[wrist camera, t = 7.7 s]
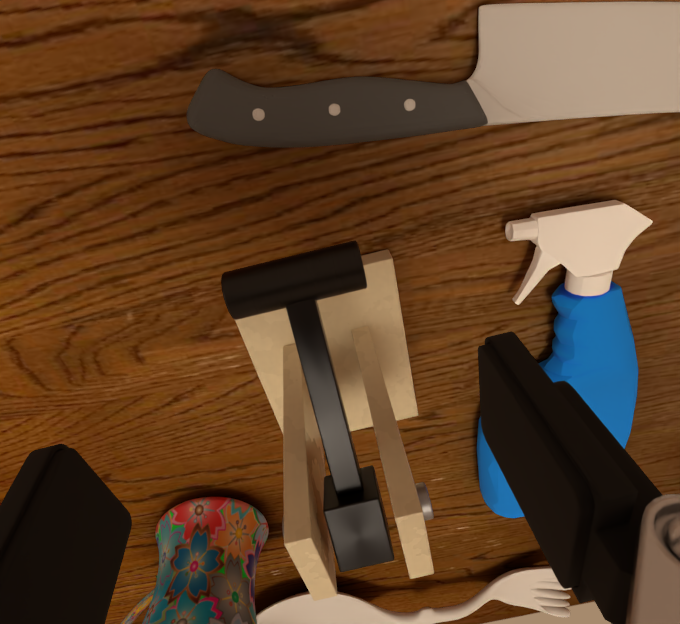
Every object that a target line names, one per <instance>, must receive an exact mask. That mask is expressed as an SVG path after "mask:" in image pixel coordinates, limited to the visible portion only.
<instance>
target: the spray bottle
mask: <svg viewBox="0 0 680 624" xmlns="http://www.w3.org/2000/svg"><path fill="white" fill-rule="evenodd" d="M652 222H653V221H652V220H650V219H649V218H647V217H645V216H644V215H642V214H641V213H639V212H637V211H636V210H634V209H633V208H631V207H629V206H628V205H626V204H624V203H622V202H620V201H617V200H611V201H605V202H599V203H593V204H586V205H580V206H574V207H568V208H562V209H556V210H550V211H544V212H538V213H532V214H531V216H530V218H527V219H521V220H515V221H509V222H508V223H507V224H506V227H505V234H506V238H507V239H508V240H509V241H519V240H531V241H532V242H533V243H534V244H535V245H537V246H536V248H535V252H534V257H533V260H532V262H531V265H530V267H529V269H528V271H527V273H526V276H525V278H524V280H523V282H522V284H521V287H520V288H519V290H518V292H517V293H516V295H515V296H514V298H513V299H512V300H513V301H514V302H515V303H516V304H518V305H519V304H520V303H521V302H522V301H523V300H524V299H525V297H526V296H527V295H528V294H529V293H530V292H531V291H532V289H533V288H534V287H535V286H536V285H537V284H538V282H539V281H540V280H541V279H542V278H543V276H544V275H545V274H546V273H547V272H548V270H550V269H552V268H553V267H555V266H557V265H559V264H560V263H561V264H562V265H563V266H564V267H565V268H567V272H566V278H565V283H563V284H560V285H559V287H558V288H557V289H556V290H555V291H554V293H553V294H552V303H553V305H554V306H555V308H556V310H557V311H558V315H557V316H556V318H555V320H554V331H555V334H556V336H555V338H554V339H553V341H552V350H553V352H552V354H551V355H550V356H549V358H548V359H546V360H544V361H542V362H540V363H538V364H539V365H540V366H541V368H542V369H543V370H544V371H545V373H546V374H547V375H548V377H549V378H550V379H551V380H552V382H553V383H554V382H558V381H565V382H567V383H569V384H570V385H571V386H572V387H573V388H574V389H575V390H576V391H577V393H578V394H579V395H580V396H581V397H582V399H583V400H584V401H585V402H586V403H587V405H588V406H589V407H590V408H591V409H592V411H593V412H594V413H595V414H596V416H597V417H598V418H599V419H600V420H601V422H602V423H603V424H604V425H605V426H606V428H607V429H608V430H609V431H610V432H611V434H612V435H613V436H614V437H615V438H616V440H617V441H618V442H619V443H620V445H621V446H622V447H623V448H624V449H625V446H626V443H627V441H628V438H629V435H630V432H631V426H632V420H633V415H634V409H635V404H636V398H637V385H638V364H637V358H636V351H635V344H634V338H633V333H632V329H631V325H630V322H629V318H628V314H627V310H626V306H625V302H624V298H623V294H622V290H621V287H620V286H619V285H617V284H615V283H614V282H612V281H611V278H612V273H613V270H617V269H618V268H619V265H620V262H621V260H622V257H623V255H624V252H625V250H626V249H627V247H628V246H629V245H630V244H631V242H632V241H633V240H634V239H635V237H636V236H638V235H639V234H640V233H641V232H642V231H644V230H645V229H646V228H647V227H648V226H650V225H651V224H652ZM477 459H478V471H479V483H480V491H481V493H482V496H483V498H484V501H485V503H486V504H487V506H488V507H489V508H490V509H491V510H493V511H494V512H495V513H496V514H498V515H501V516H503V517H508V518H518V517H523V516H524V514H523V512H522V510H521V508H520V506H519V504H518V502H517V500H516V498H515V496H514V494H513V492H512V490H511V489H510V487H509V485H508V483H507V481H506V479H505V477H504V475H503V473H502V471H501V469H500V467H499V465H498V463H497V461H496V459H495V457H494V455H493V453H492V452H491V450H490V448H489V446H488V444H487V442H486V440H485V437H484V435H483V431H482V427H481V417H480V418H479V424H478V438H477Z"/></svg>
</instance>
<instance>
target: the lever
mask: <svg viewBox="0 0 680 624" xmlns="http://www.w3.org/2000/svg"><path fill="white" fill-rule="evenodd" d="M221 284H222V292H223V296H224V300H225V303H226V306H227V308H228V311H229V313H230V314H231V316H232V317H233V318H234V319H235V320H238V319H243V318H247V317H251V316H255V315H259V314H263V313H267V312H271V311H276V310H280V309H284V308H286V310H287V314H288V318H289V322H290V325H291V329H292V333H293V336H294V340H295V344H296V347H297V351H298V355H299V359H300V362H301V366H302V370H303V373H304V377H305V381H306V384H307V388H308V392H309V396H310V399H311V403H312V407H313V410H314V414H315V418H316V422H317V425H318V429H319V433H320V436H321V440H322V444H323V447H324V451H325V455H326V459H327V462H328V466H329V470H330V473H331V475H329V476H325V477H324V501H323V512H324V516H325V520H326V523H327V527H328V530H329V534H330V538H331V541H332V545H333V548H334V552H335V556H336V559H337V563H338V566H339V570H340V572H344V571H349V570H353V569H358V568H362V567H366V566H371V565H375V564H379V563H384V562H388V561H392V560H394V553H393V548H392V543H391V538H390V533H389V528H388V523H387V518H386V514H385V510H384V506H383V502H382V498H381V494H380V490H379V486H378V482H377V478H376V474H375V470H374V467H373V466H368V467H363V468H360V467H359V463H358V459H357V455H356V452H355V448H354V444H353V440H352V436H351V432H350V428H349V424H348V420H347V416H346V412H345V408H344V405H343V401H342V397H341V393H340V389H339V385H338V381H337V377H336V373H335V369H334V365H333V361H332V357H331V354H330V350H329V346H328V342H327V338H326V334H325V330H324V326H323V322H322V318H321V314H320V310H319V307H318V303H317V300H321V299H325V298H329V297H333V296H337V295H341V294H346V293H350V292H354V291H358V290H362V289H366V288H367V280H366V275H365V270H364V266H363V262H362V258H361V254H360V250H359V247H358V244H357V242H356V241H350V242H346V243H342V244H338V245H334V246H330V247H326V248H322V249H318V250H314V251H310V252H305V253H301V254H297V255H293V256H289V257H285V258H281V259H277V260H273V261H269V262H265V263H261V264H256V265H252V266H248V267H244V268H240V269H236V270H232V271H228V272H224V273H223V274H222V279H221Z"/></svg>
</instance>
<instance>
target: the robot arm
mask: <svg viewBox="0 0 680 624" xmlns="http://www.w3.org/2000/svg"><path fill="white" fill-rule="evenodd" d="M478 361H479V385H480V409H481V427H482V431H483V435H484V437H485V440H486V442H487V444H488V446H489V448H490V450H491V452H492V453H493V455H494V457H495V459H496V461H497V463H498V465H499V467H500V469H501V471H502V473H503V475H504V477H505V479H506V481H507V483H508V485H509V487H510V489H511V490H512V492H513V494H514V496H515V498H516V500H517V502H518V504H519V506H520V508H521V510H522V512H523V514H524V516H525V518H526V520H527V522H528V524H529V526H530V528H531V529H532V531H533V533H534V535H535V537H536V539H537V541H538V543H539V545H540V547H541V549H542V551H543V553H544V555H545V557H546V559H547V561H548V563H549V565H550V566H551V568H552V570H553V572H554V574H555V576H556V578H557V580H558V582H559V583H560V585H561V586H562V587H563V588H564V589H568V588H572V590H573V592H574V594H575V595H576V597H577V599H578V601H579V603H583V602H587V601H591V600H595V602H596V604H597V606H598V608H599V609H600V611H601V613H602V615H603V617H604V618H605V620H607V621H609V622H611V624H680V494H667V495H664V496H663V495H662V494H661V493H660V492H659V490H658V489H657V488H656V487H655V486H654V484H653V483H652V482H651V481H650V480H649V478H648V477H647V476H646V475H645V474H644V472H643V471H642V470H641V469H640V467H639V466H638V465H637V464H636V463H635V461H634V460H633V459H632V458H631V457H630V455H629V454H628V453H627V452H626V451H625V449H624V448H623V447H622V446H621V445H620V443H619V442H618V441H617V440H616V438H615V437H614V436H613V435H612V434H611V432H610V431H609V430H608V429H607V428H606V426H605V425H604V424H603V423H602V422H601V420H600V419H599V418H598V417H597V416H596V414H595V413H594V412H593V411H592V409H591V408H590V407H589V406H588V405H587V403H586V402H585V401H584V400H583V399H582V397H581V396H580V395H579V394H578V393H577V391H576V390H575V389H574V388H573V387H572V386H571V385H570V384H569V383H567V382H565V381H558V382H554V383H553V382H552V380H551V379H550V378H549V377H548V375H547V374H546V373H545V371H544V370H543V369H542V368H541V366H540V365H539V364H538V362H537V361H536V360H535V359H534V357H533V356H532V355H531V354H530V352H529V351H528V350H527V348H526V347H525V346H524V345H523V343H522V342H521V341H520V340H519V338H518V337H517V336H516V335H515V334H514V333H513V332H507V333H503V334H499V335H495V336H491V337H487V338H486V339H485V345H482V346H479V347H478ZM131 523H132V521H131V516H130V513H129V512H128V510H127V509H126V508H125V507H124V506H123V505H122V503H121V502H120V501H119V500H118V499H117V498H116V497H115V495H114V494H113V493H112V492H111V491H110V490H109V488H108V487H107V486H106V485H105V484H104V483H103V481H102V480H101V479H100V478H99V477H98V476H97V474H96V473H95V472H94V471H93V470H92V469H91V467H90V466H89V465H88V464H87V463H86V462H85V460H84V459H83V458H82V457H81V456H80V455H79V453H78V452H77V451H76V450H75V449H72V448H68V447H67V446H66V445H64V444H58V445H54V446H50V447H46V448H42V449H38V450H34V451H33V452H31V453H30V454H29V456H28V457H27V459H26V461H25V462H24V464H23V466H22V468H21V469H20V471H19V473H18V475H17V477H16V478H15V480H14V482H13V484H12V485H11V487H10V489H9V491H8V493H7V494H6V496H5V498H4V500H3V501H2V503H1V505H0V624H105V620H106V617H107V613H108V609H109V606H110V602H111V599H112V595H113V591H114V588H115V584H116V581H117V577H118V573H119V570H120V566H121V563H122V559H123V555H124V552H125V548H126V545H127V541H128V537H129V534H130V530H131Z"/></svg>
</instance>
